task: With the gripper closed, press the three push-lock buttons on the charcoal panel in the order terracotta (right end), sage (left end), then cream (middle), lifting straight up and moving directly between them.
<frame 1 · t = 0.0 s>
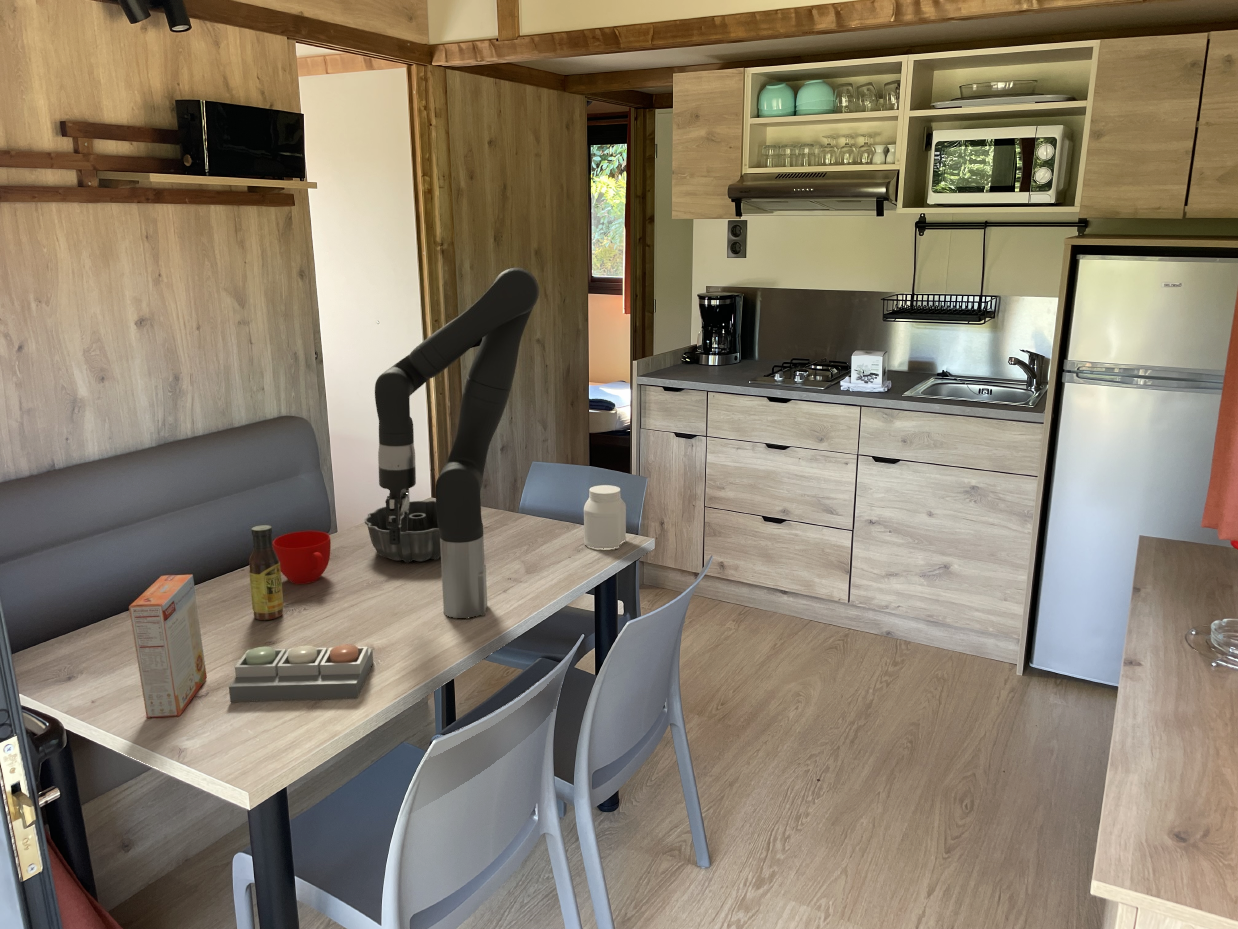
hand: (398, 537, 195), 17 cm above the table, tool pointing down, fingers open, 8 cm apart
terracotta button: (344, 654, 168), point 5 cm above the table, slide at 0.0 cm
button panel: (305, 681, 168), on the table
ceramic cup: (308, 582, 217), on the table
jar: (605, 544, 243), on the table
sauce bottle: (269, 616, 198), on the table
sage button: (260, 656, 167), point 5 cm above the table, slide at 0.0 cm
cream button: (302, 655, 167), point 5 cm above the table, slide at 0.0 cm
bundt pan: (419, 552, 238), on the table
cracker box: (177, 699, 162), on the table
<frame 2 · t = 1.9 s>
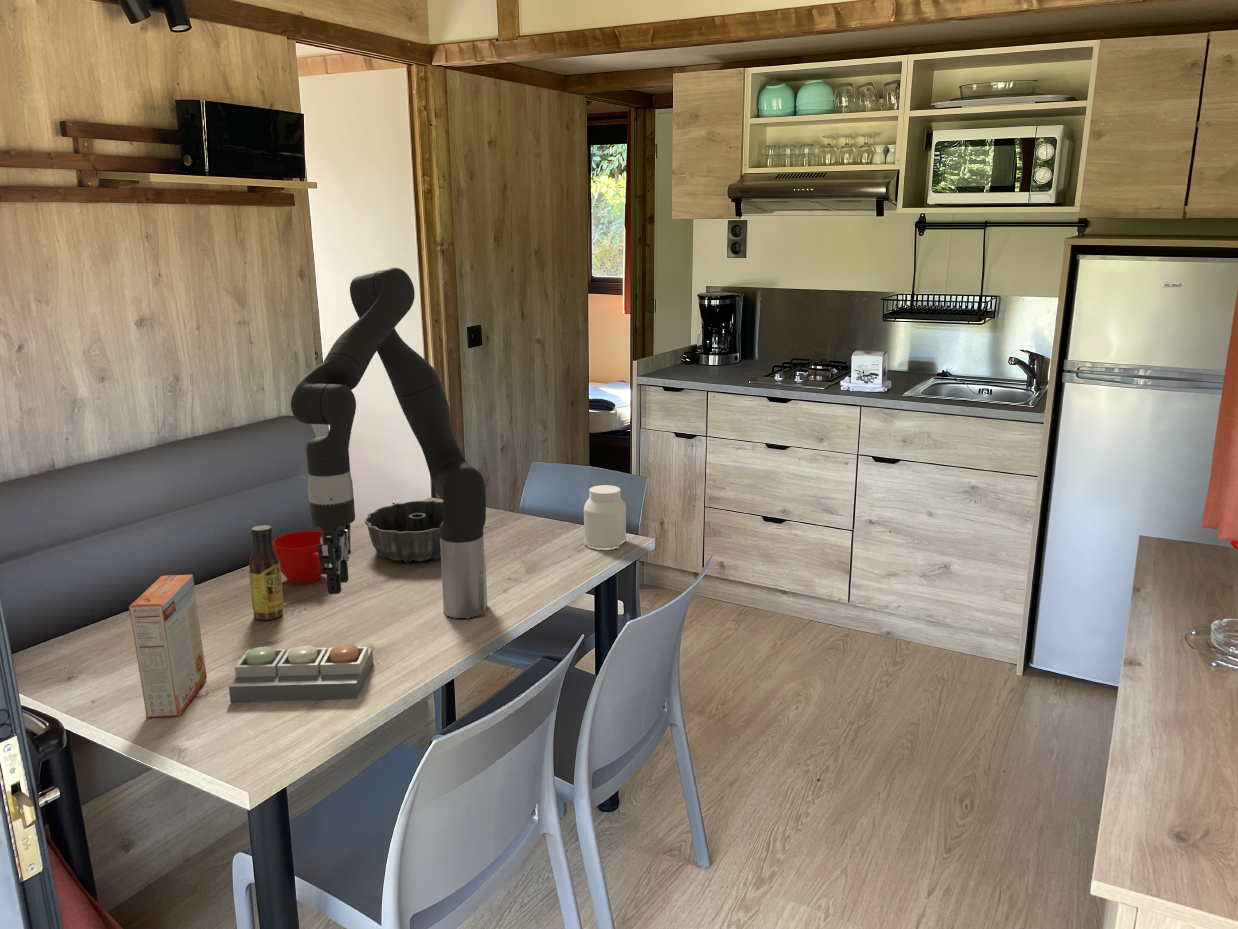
hand: (338, 587, 164), 18 cm above the table, tool pointing down, fingers open, 5 cm apart
nothing on the table moved.
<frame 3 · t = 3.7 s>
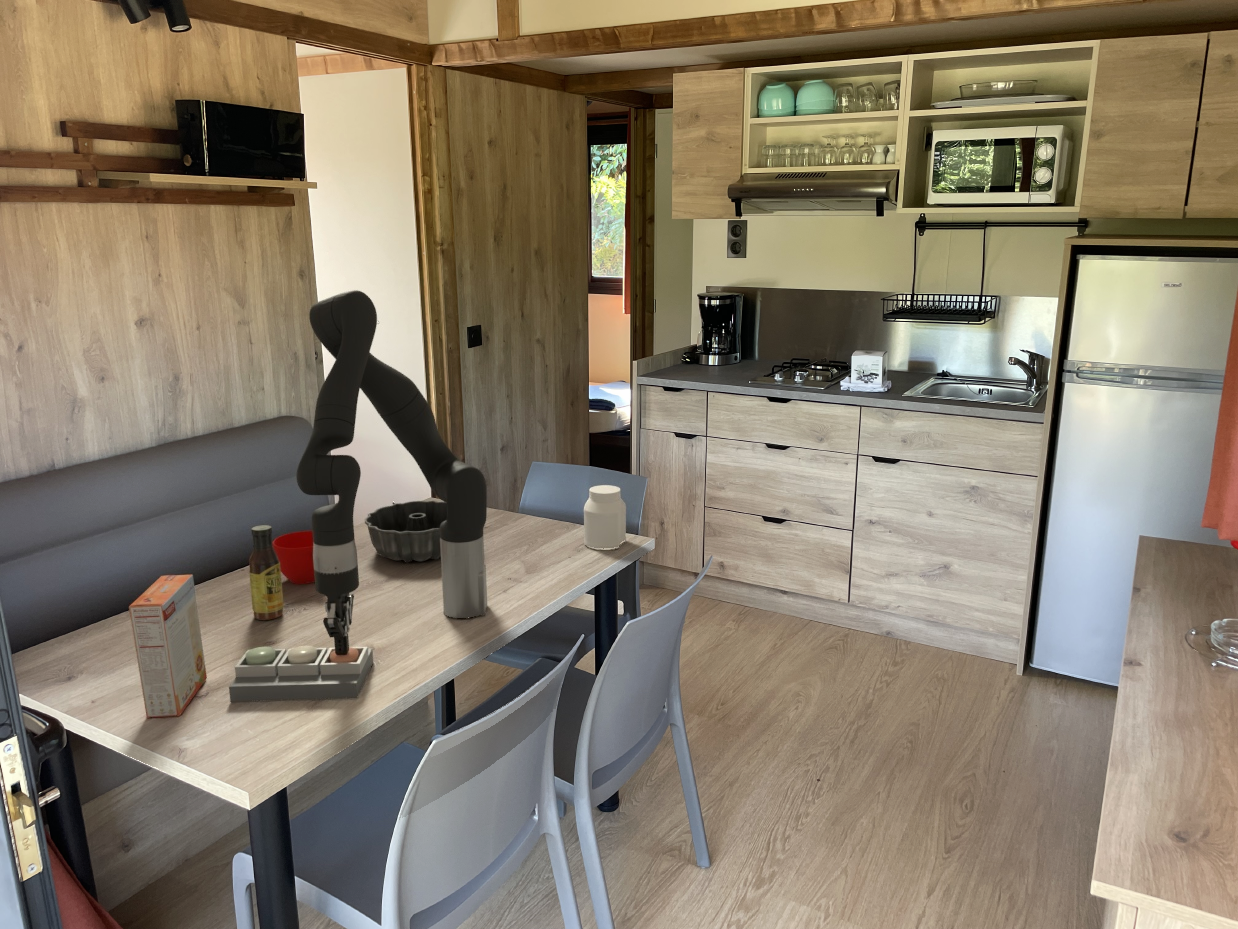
hand: (342, 653, 167), 5 cm above the table, tool pointing down, fingers closed
terracotta button: (344, 657, 168), point 5 cm above the table, slide at 0.6 cm, touching gripper
everything else where it was.
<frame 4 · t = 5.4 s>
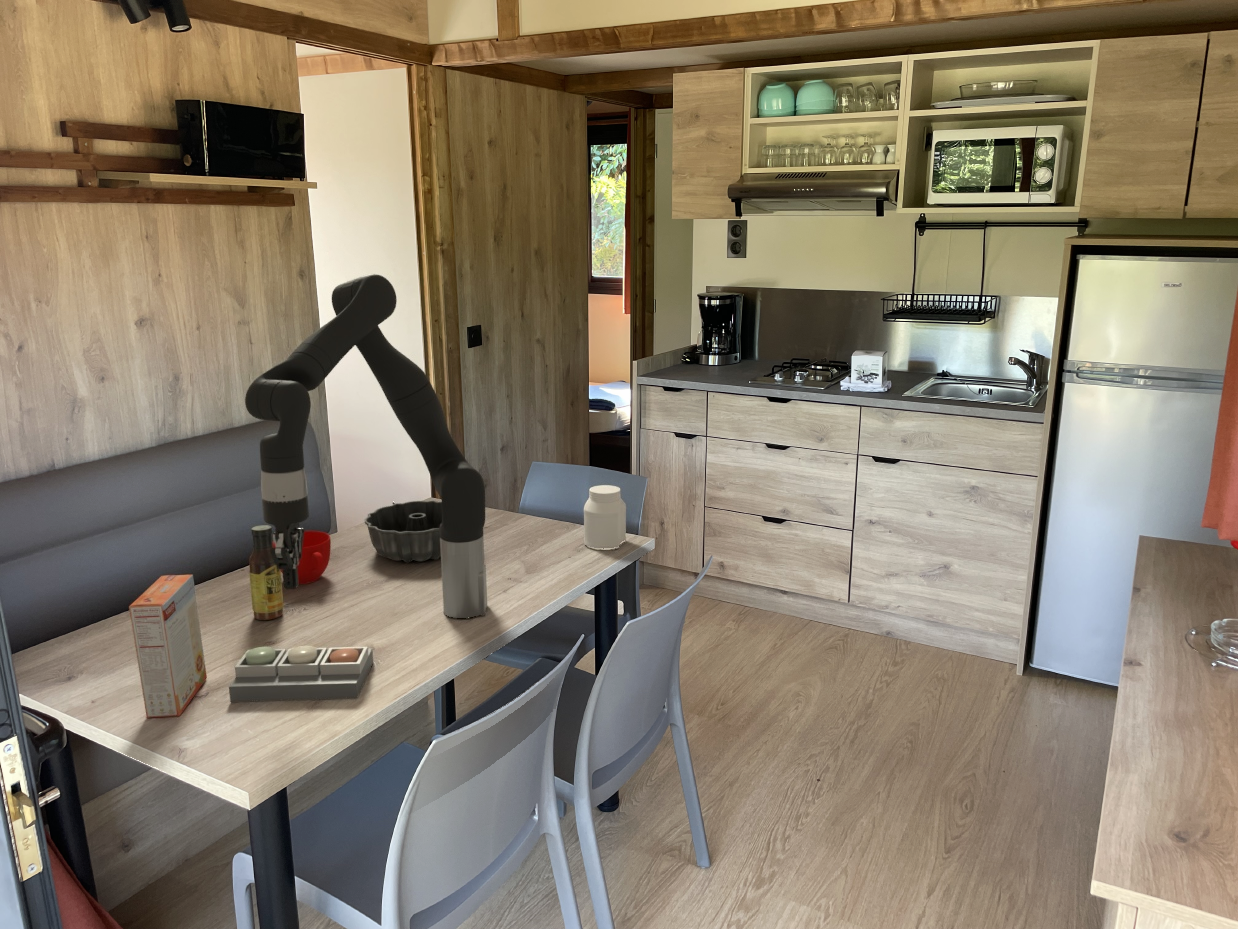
hand: (291, 587, 163), 19 cm above the table, tool pointing down, fingers closed
terracotta button: (344, 658, 168), point 5 cm above the table, slide at 0.7 cm
everything else where it was.
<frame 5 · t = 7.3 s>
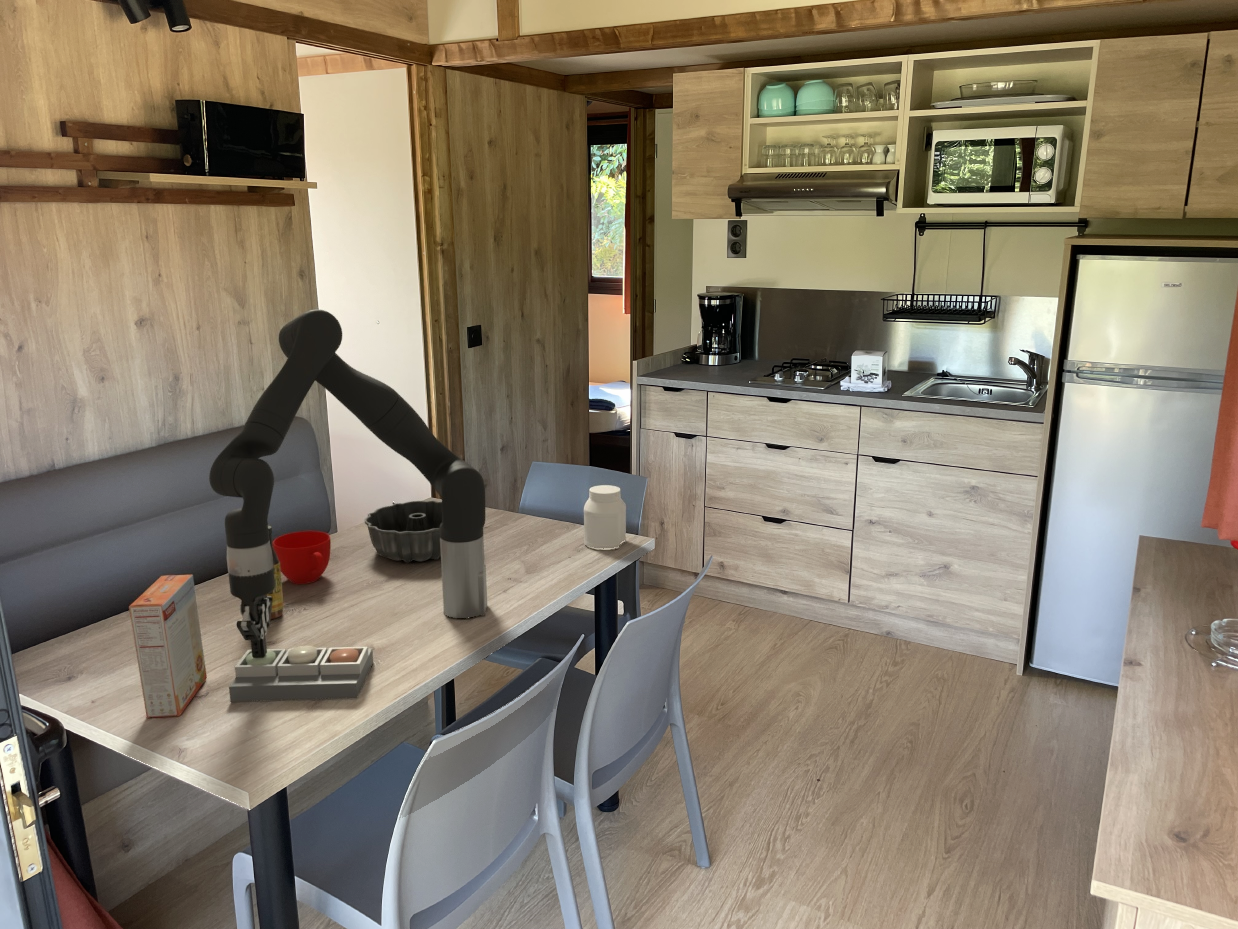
hand: (259, 656, 167), 5 cm above the table, tool pointing down, fingers closed
sage button: (261, 660, 167), point 5 cm above the table, slide at 0.7 cm, touching gripper
everything else where it was.
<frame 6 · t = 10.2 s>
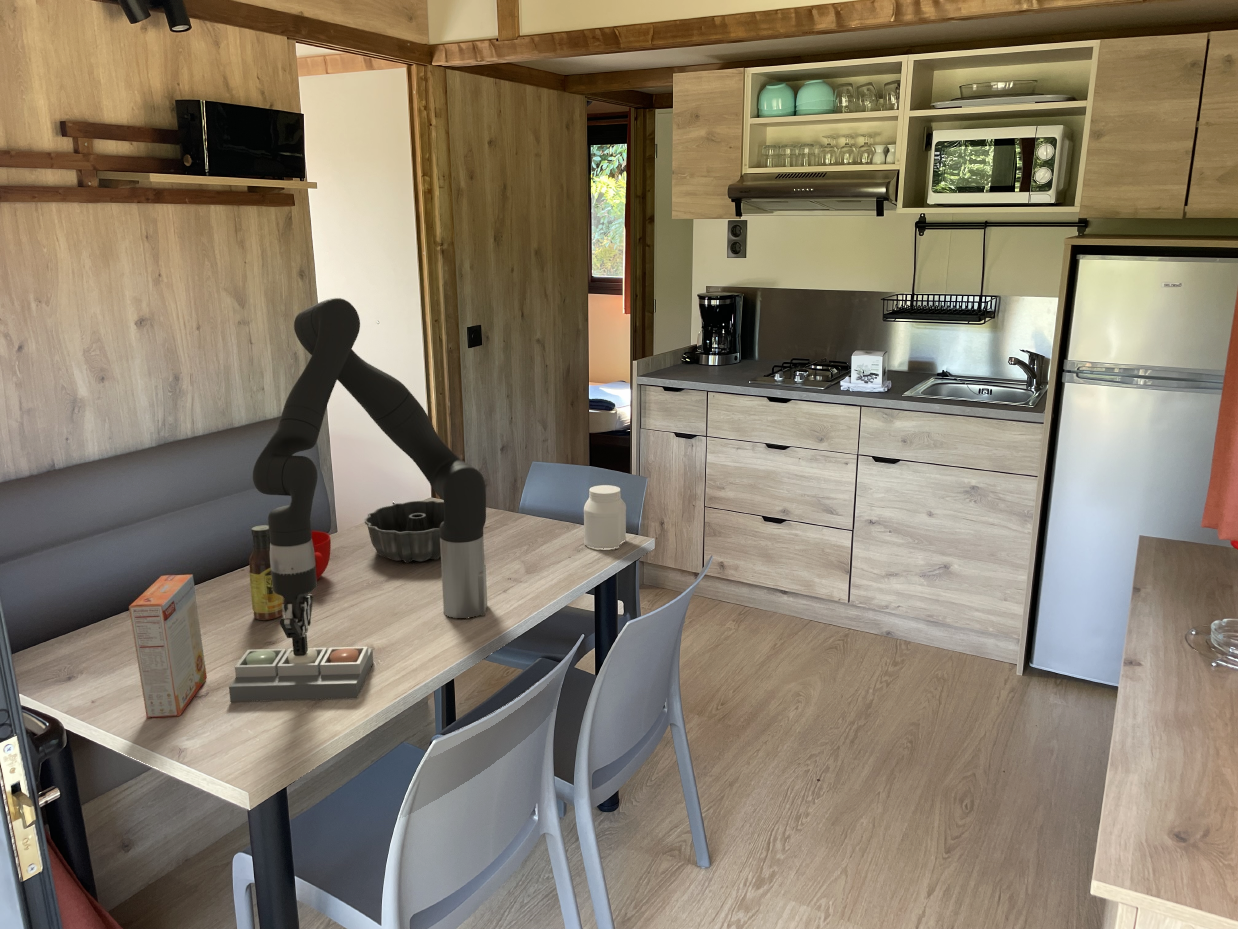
hand: (300, 653, 167), 6 cm above the table, tool pointing down, fingers closed
sage button: (261, 660, 167), point 5 cm above the table, slide at 0.7 cm
cream button: (302, 658, 167), point 5 cm above the table, slide at 0.5 cm, touching gripper
everything else where it was.
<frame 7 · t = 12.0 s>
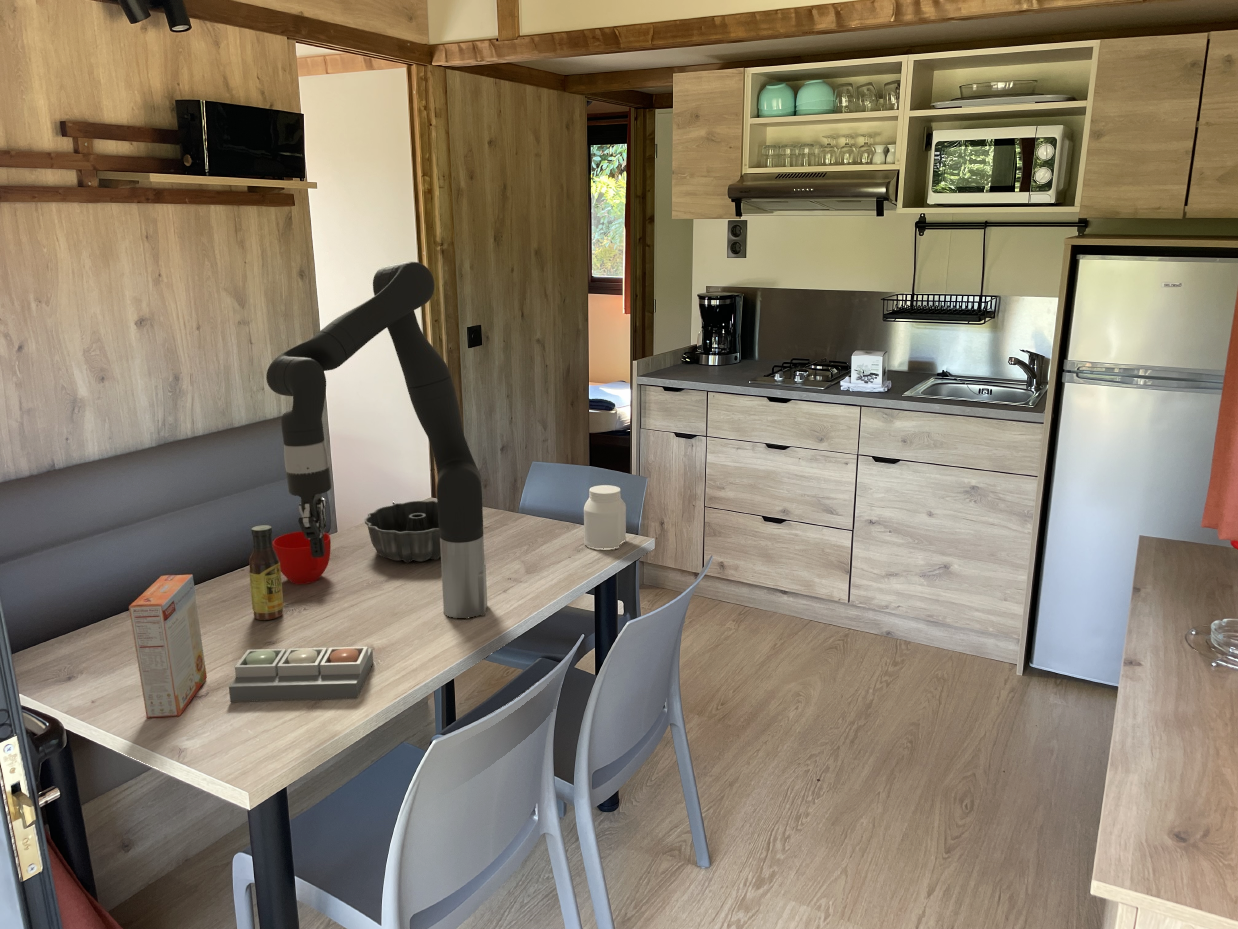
hand: (318, 556, 171), 22 cm above the table, tool pointing down, fingers closed
cream button: (302, 659, 167), point 5 cm above the table, slide at 0.7 cm
everything else where it was.
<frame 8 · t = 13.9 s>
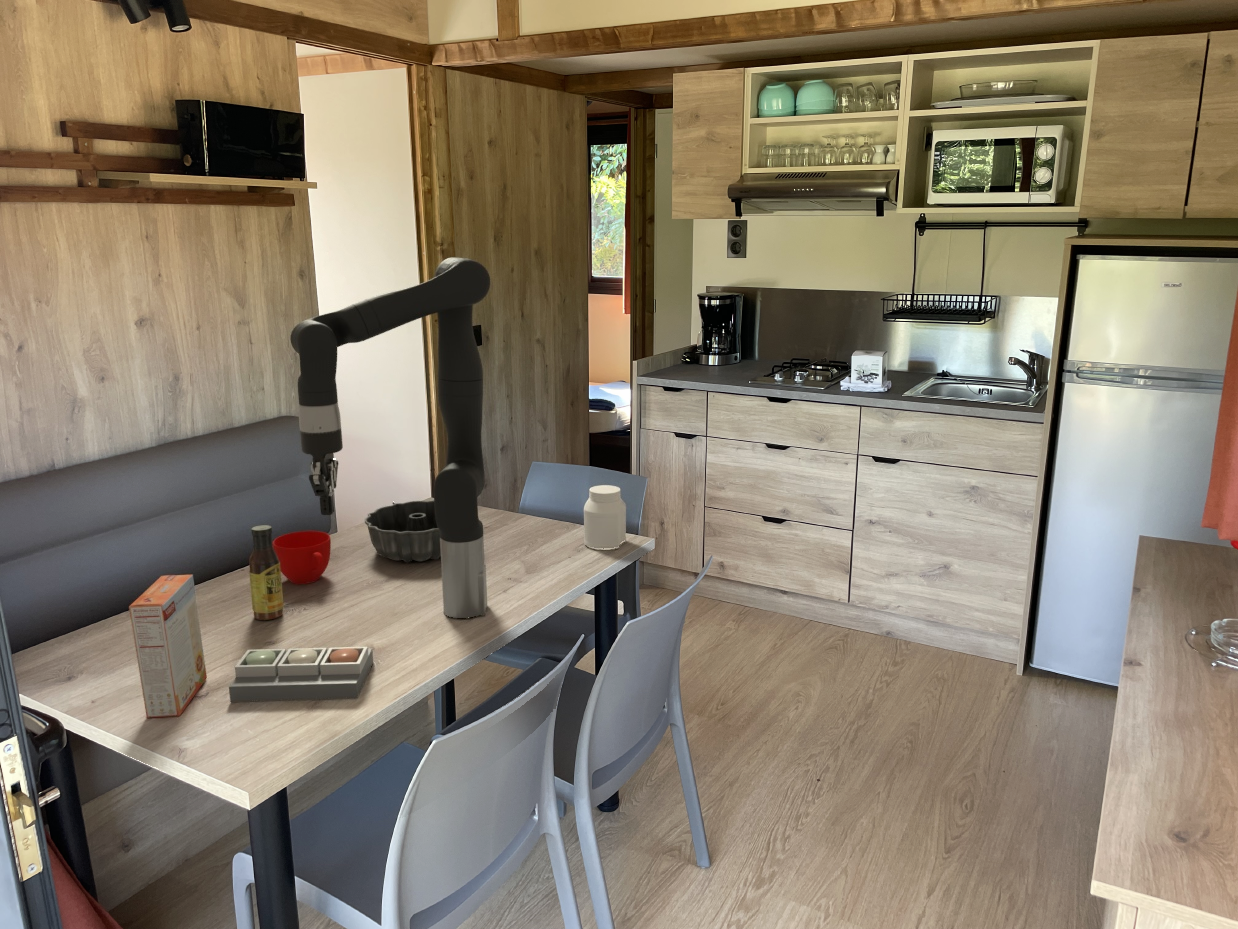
hand: (327, 513, 178), 27 cm above the table, tool pointing down, fingers closed
nothing on the table moved.
at the end: terracotta button slide at 0.7 cm; sage button slide at 0.7 cm; cream button slide at 0.7 cm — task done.
